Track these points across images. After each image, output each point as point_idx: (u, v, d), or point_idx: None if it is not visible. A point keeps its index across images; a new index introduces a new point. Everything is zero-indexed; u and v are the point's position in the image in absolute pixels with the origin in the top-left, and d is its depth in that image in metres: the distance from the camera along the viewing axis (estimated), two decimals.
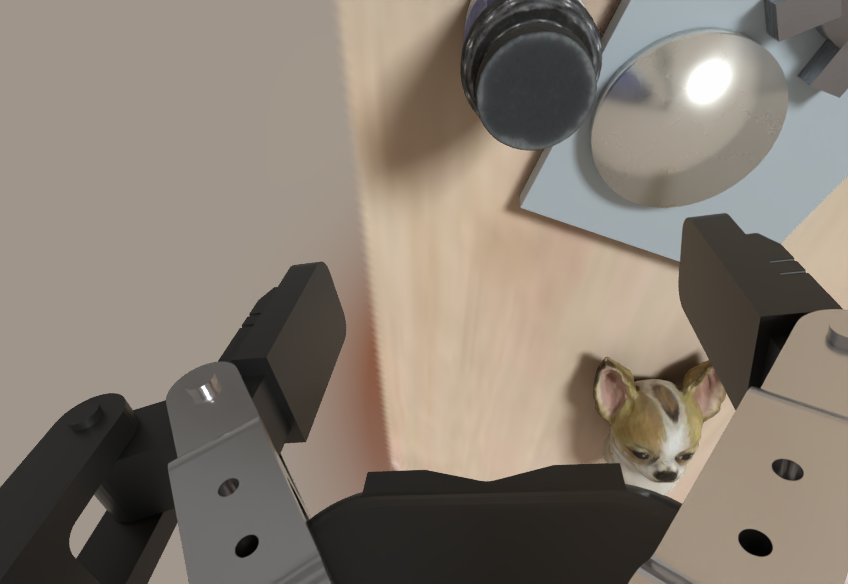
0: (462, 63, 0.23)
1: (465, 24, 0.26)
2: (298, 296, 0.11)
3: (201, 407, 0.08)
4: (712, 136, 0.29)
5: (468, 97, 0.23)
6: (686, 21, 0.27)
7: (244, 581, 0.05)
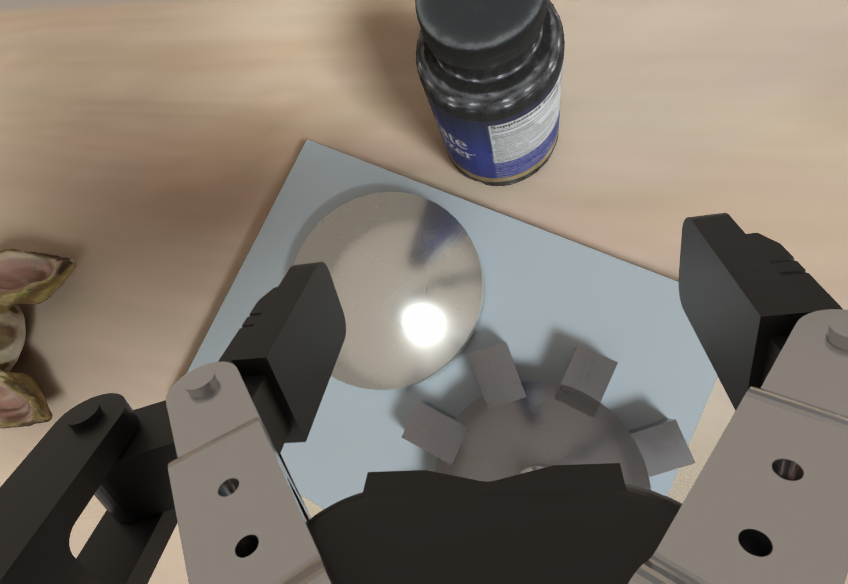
0: None
1: None
2: (298, 296, 0.11)
3: (201, 407, 0.08)
4: (371, 316, 0.26)
5: None
6: (492, 276, 0.26)
7: (244, 581, 0.05)
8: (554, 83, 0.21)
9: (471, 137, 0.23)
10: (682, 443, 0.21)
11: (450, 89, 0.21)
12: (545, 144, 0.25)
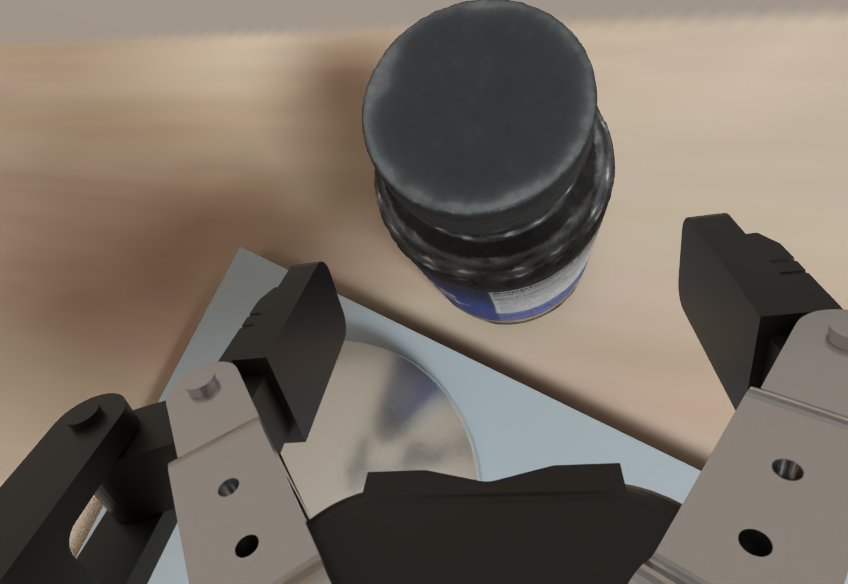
0: None
1: None
2: (298, 296, 0.11)
3: (201, 407, 0.08)
4: None
5: None
6: (492, 471, 0.18)
7: (244, 581, 0.05)
8: (596, 230, 0.13)
9: (462, 295, 0.15)
10: None
11: (426, 245, 0.12)
12: (572, 284, 0.17)
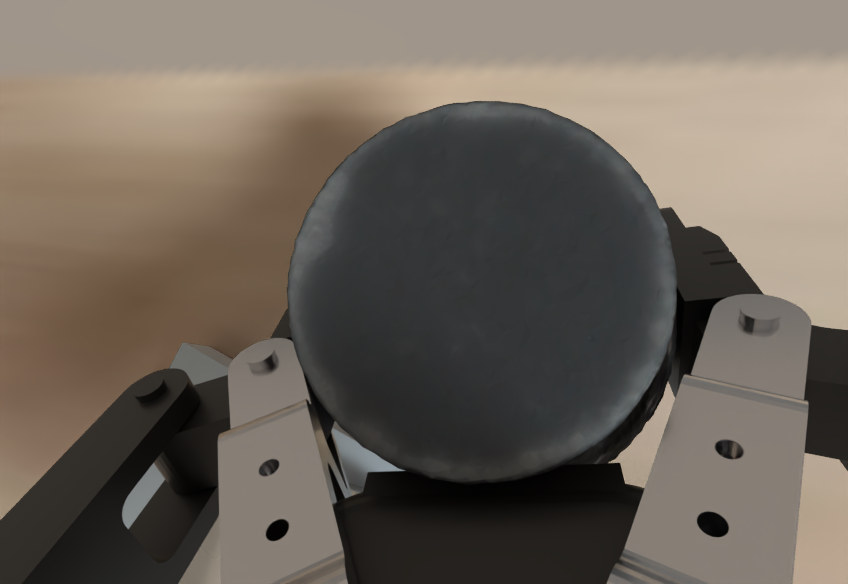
0: None
1: None
2: None
3: (265, 380, 0.08)
4: None
5: None
6: None
7: (270, 566, 0.05)
8: None
9: None
10: None
11: None
12: None
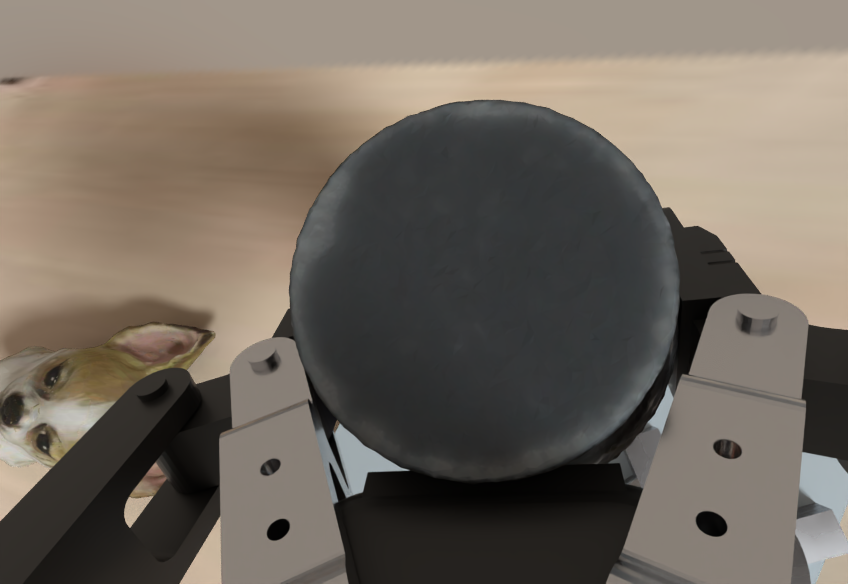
0: None
1: None
2: None
3: (266, 379, 0.08)
4: None
5: None
6: None
7: (271, 565, 0.05)
8: None
9: None
10: (839, 533, 0.23)
11: None
12: None
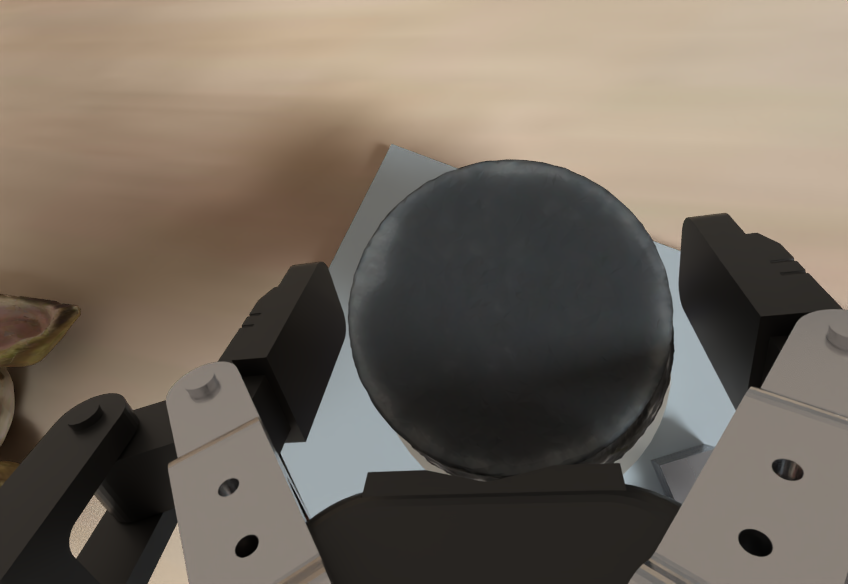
0: None
1: None
2: (298, 296, 0.11)
3: (201, 407, 0.08)
4: None
5: None
6: None
7: (245, 581, 0.05)
8: None
9: None
10: None
11: None
12: None
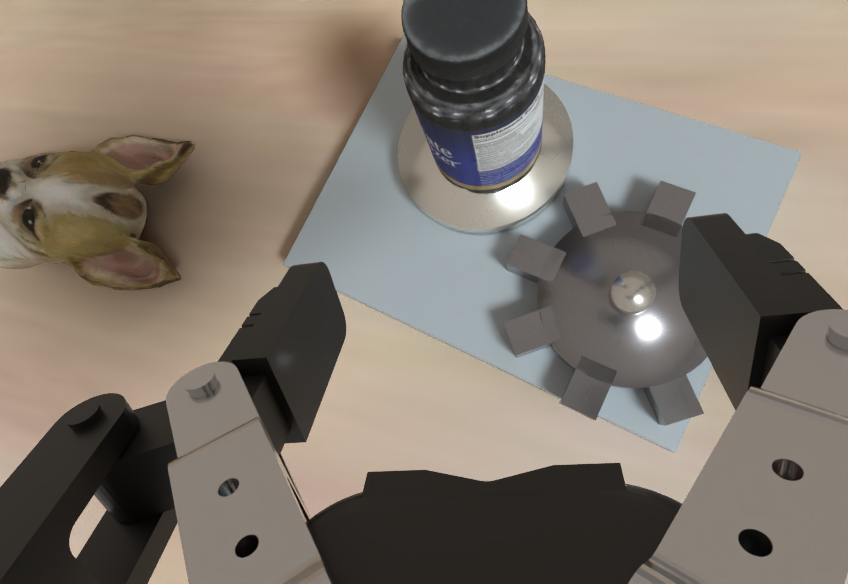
0: None
1: None
2: (298, 296, 0.11)
3: (201, 407, 0.08)
4: None
5: None
6: (578, 137, 0.30)
7: (244, 581, 0.05)
8: (535, 95, 0.22)
9: (455, 146, 0.24)
10: None
11: (435, 99, 0.21)
12: (528, 154, 0.26)
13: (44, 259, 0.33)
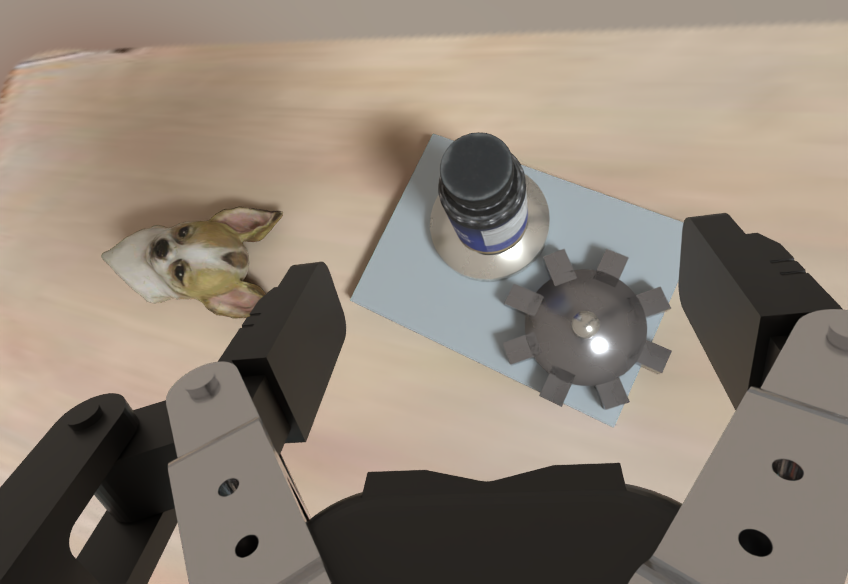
0: None
1: None
2: (298, 296, 0.11)
3: (201, 407, 0.08)
4: None
5: None
6: (553, 214, 0.44)
7: (244, 582, 0.05)
8: (520, 207, 0.36)
9: (471, 234, 0.38)
10: (664, 298, 0.39)
11: (458, 212, 0.35)
12: (518, 233, 0.40)
13: (183, 297, 0.47)
